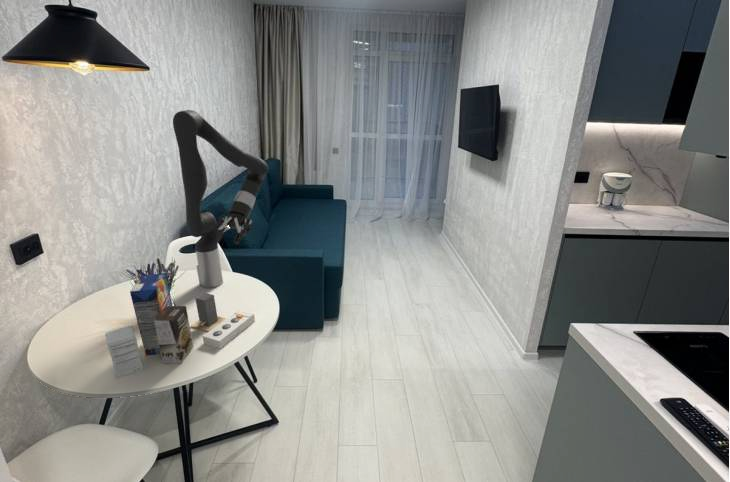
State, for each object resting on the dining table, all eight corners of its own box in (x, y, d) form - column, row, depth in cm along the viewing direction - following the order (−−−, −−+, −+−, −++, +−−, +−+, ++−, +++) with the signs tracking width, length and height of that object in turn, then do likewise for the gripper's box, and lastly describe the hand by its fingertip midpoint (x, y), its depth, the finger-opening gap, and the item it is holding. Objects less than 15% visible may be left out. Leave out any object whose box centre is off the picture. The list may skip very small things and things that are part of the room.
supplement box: (114, 365, 122) (105, 332, 118) (141, 357, 126) (132, 324, 122) (116, 379, 117) (106, 344, 112) (144, 369, 121) (135, 335, 116)
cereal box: (155, 335, 138) (141, 275, 129) (178, 333, 139) (165, 273, 131) (145, 356, 127) (129, 291, 118) (170, 353, 128) (156, 289, 120)
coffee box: (182, 363, 123) (173, 320, 117) (162, 363, 123) (152, 320, 117) (194, 346, 132) (186, 305, 126) (176, 346, 132) (167, 305, 126)
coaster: (191, 327, 143) (190, 325, 142) (208, 315, 150) (208, 314, 150) (209, 332, 139) (209, 331, 139) (226, 319, 147) (226, 318, 147)
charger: (195, 326, 142) (190, 300, 138) (209, 318, 148) (204, 292, 144) (205, 329, 140) (200, 303, 136) (218, 320, 146) (214, 294, 142)
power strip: (203, 343, 133) (202, 334, 132) (239, 316, 149) (238, 308, 148) (220, 348, 130) (219, 339, 129) (254, 320, 146) (253, 312, 145)
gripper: (223, 198, 151) (205, 234, 145) (252, 201, 146) (236, 239, 140) (233, 208, 157) (217, 243, 151) (262, 211, 152) (247, 248, 146)
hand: (226, 241), depth 146 cm, fingers open, 8 cm apart
